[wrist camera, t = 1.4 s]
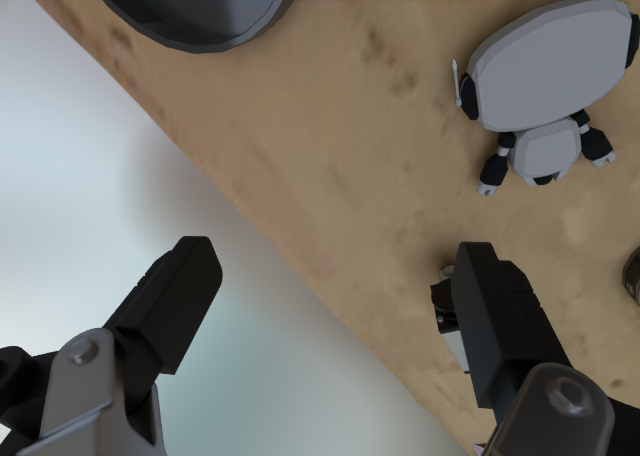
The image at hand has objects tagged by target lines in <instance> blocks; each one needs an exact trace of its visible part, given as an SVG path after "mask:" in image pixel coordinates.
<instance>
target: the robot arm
mask: <svg viewBox="0 0 640 456" xmlns="http://www.w3.org/2000/svg"><path fill="white" fill-rule="evenodd" d="M222 275H223V274H222V268H221V265H220V263H219V260H218V258H217V255H216V253H215V251H214V248H213V246H212V243H211V241H210V239H209V238H208V237H205V236H184V237H182V238H181V239H180V240H179V241H178V243H177V244H176V245H175V247H174V248H173V249H172V250H171V251H168V252H167V253H165V254H164V255H163V256H161V257H160V258H159V259H157V260H156V261H155V262H154V263H153V264H152V266H151V267H150V268H149V269H148V271H147V272H146V273H145V276H143V277H142V278H141V279H140V281H139V282H138V283H137V286H135V287H134V288H133V289H132V291H131V292H130V293H129V295H128V296H127V297H126V298H125V299H124V301H123V302H122V303H121V305H120V306H119V307H118V308H117V309H116V311H115V312H114V313H113V315H112V316H111V317H110V318H109V320H108V321H107V322H106V323H105V325H104V326H103V327H102V328H94V329H90V330H87V331H85V332H83V333H81V334H79V335H77V336H75V337H74V338H72V339H71V340H70V341H68V342H67V343H66V344H65V345H64V346H63V347H62V348H61V349H60V350H59V351H55V352H50V353H46V354H42V355H37V356H33V357H32V356H31V355H29V354H28V353H27V352H26V351H24V350H23V349H22V348H21V347H18V346H8V347H5V348H1V349H0V423H1V424H3V425H4V426H6V427H8V428H10V429H11V431H10V433H9V434H8V435H7V436H6V438H5V439H4V440H3V442H2V443H1V444H0V456H167V454H166V451H165V447H164V440H163V433H162V424H161V415H160V408H159V399H158V390H157V386H156V384H155V380H156V378H157V376H158V375H159V373H162V374H171V375H175V373H176V371H177V369H178V367H179V365H180V363H181V361H182V359H183V357H184V355H185V354H186V352H187V350H188V348H189V346H190V344H191V342H192V340H193V338H194V336H195V334H196V332H197V330H198V328H199V326H200V325H201V323H202V321H203V319H204V317H205V315H206V313H207V311H208V309H209V307H210V305H211V303H212V301H213V299H214V297H215V295H216V294H217V292H218V290H219V288H220V286H221V283H222V277H223V276H222ZM451 294H452V300H453V304H454V308H455V312H456V317H457V321H458V325H459V329H460V333H461V338H462V342H463V346H464V350H465V354H466V359H467V363H468V367H469V371H470V375H471V380H472V384H473V388H474V392H475V396H476V400H477V405H478V408H487V409H493V411H494V415H495V419H496V422H497V425H496V427H495V429H494V431H493V433H492V435H491V437H490V438H489V440H488V442H487V444H486V446H485V448H484V450H483V452H482V454H481V456H640V409H638V408H635V407H633V406H630V405H627V404H624V403H622V402H619V401H617V400H614V399H612V398H610V397H608V396H606V394H605V393H604V392H603V390H602V389H601V388H600V387H599V386H598V385H597V384H596V383H595V382H594V381H593V380H591V379H590V378H589V377H587V376H586V375H584V374H583V373H581V372H580V371H578V370H576V369H574V368H573V366H572V365H571V363H570V361H569V359H568V357H567V355H566V354H565V352H564V350H563V348H562V346H561V344H560V342H559V340H558V338H557V336H556V334H555V332H554V330H553V328H552V326H551V324H550V322H549V320H548V318H547V316H546V314H545V312H544V310H543V308H542V307H540V302H539V300H538V298H537V297H536V295H535V294H534V293H533V289H532V287H531V285H530V283H529V281H528V279H527V277H526V275H525V274H524V273H523V272H522V271H521V270H520V269H519V268H518V267H517V266H516V265H514V264H513V263H512V262H511V261H505V260H498V258H497V255H496V253H495V251H494V249H493V246H492V244H491V243H490V242H461V243H460V244H459V248H458V252H457V256H456V261H455V265H454V269H453V274H452V278H451Z"/></svg>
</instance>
